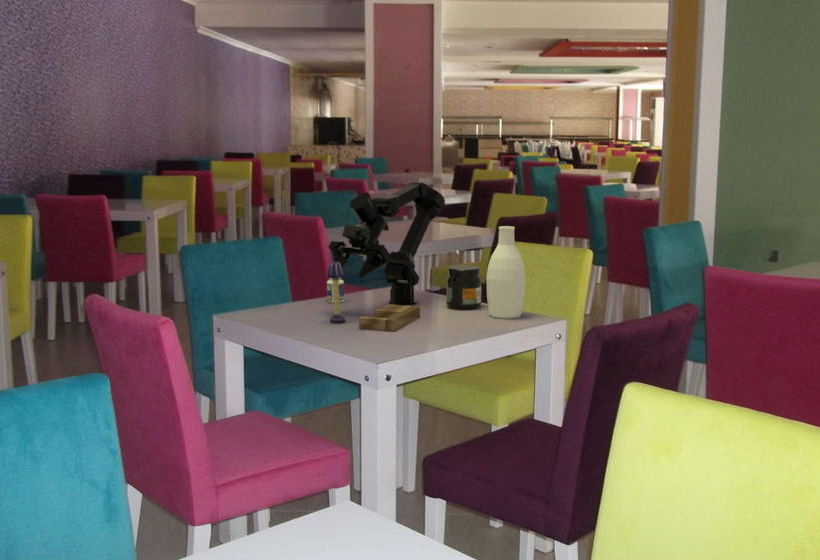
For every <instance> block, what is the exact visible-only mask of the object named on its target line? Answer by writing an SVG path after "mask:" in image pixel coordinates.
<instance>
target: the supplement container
mask: <svg viewBox="0 0 820 560" xmlns="http://www.w3.org/2000/svg"><path fill="white" fill-rule="evenodd" d="M447 274H448V276H447V277H446V306H447V308H449V309H451V308H452V309H451V310H456V309H457V311H458V310H459V311H464V310H465V311H469V310H477V309H478V308H480V307H481V306H482V281H483V280H482V277H481V276H480V275H481V268H480V267H479V266H476V265H467V264H466V265H464V264H463V265H451V266H448V268H447Z"/></svg>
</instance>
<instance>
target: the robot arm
mask: <svg viewBox="0 0 820 560" xmlns="http://www.w3.org/2000/svg"><path fill="white" fill-rule="evenodd" d="M411 202H413V203H414V207H415V213H416V214H415V216H414V218H413V219H412V222H411V224H410V227H409V228H408V231H407V233H406V235H405V237H404V239H403V241H402V244H401V245H400V248H399V250H398V251H391V252H389V251H388V248H386V246H385V245H384V244H380V241H379V238H380V236H381V234H382V232H383V231H384V232H385V231H389V225H388V221H386V220H385V218H391V219H392V218H394V217H396V216H397V214H399V213H400V211H401V208H402V207H403V206H405V205H407V204H409V203H411ZM445 204H446V203H445V197H444V196H443V194H441V192H439V190H438V191H437V190H436V189H434V188H432V187H430V186H429V185H428V184H427V183H424V182H421V181H420V182H418V181H417V182H415V181H412V182H410V183H408V185H407V186H405V187H402V188H401V189H399V190H397V191H395V192H393V193H392V194H389V195H381V196H377V197H373V198H372V197H371V195H370V193H369V192H366V191H364V192H361V194H359V195H357V196H355V197H353V199H351V200H350V202H349V207H350V208H351V211H352V212H353V213H354V215H355V216H356V218H357V219H358V221H359V222H362V223H363V224H361V225H359V226H358V225H349V224H344V227H343V231H342V234H341V236H342V237H344V238H346V239H348V241H347V242H348V244H349V245H351V246H347V245H346V243H345V242H344V241H343V240H342V241H341V240H331V241H330V243H329V245H328V246H327V248H328V249H329V250H330V253H332V254H333V258H334V259H333V262H340V264H341V267H342V268H344V266H345V265H346V264H347V263H348V260H349V258H350V256H351V255H355V256H361V257H366V258H365V260H364V263H363V264H362V267H361V269H360V271H359V273H358V277H359V279H362V278H363V277H365V276H367V274H369V273H370V272H373V271H374V270H376V269H377V268H379V267H382V266H384V269H383V270H384V274H385V279H386V280H385V281H386V283H387V284H391V288H390V289H389V290H390V292H389V294H390V297H389V298H390V300H389V301H388V304H390V305H404V306H411V305H416V304H418V302H417V301H415V286H417V285H418V284H419V281H420V276H419V274H418V273H417V272H416V270H415V269H416V264H415V259H414V258H415V255H416V254H417V252H418V249H419V247H420V245H421V244H422V243H421V242H422V240H423V238H424V236H425V235H426V234H425V233H426V232H427V229H428V227H429V225H430V223H431V221H433V220H434V219H435V218H437V217H438V216H439V215H440V213H441V212H442V210H444V209H443V208H444V206H445Z"/></svg>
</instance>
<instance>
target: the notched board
mask: <svg viewBox="0 0 820 560" xmlns="http://www.w3.org/2000/svg"><path fill="white" fill-rule="evenodd" d="M420 317H421V306H419V305H418V306H417V305H395V304H390V303H387V304H385V305H382V306H380V307H379V308H376V309H375V310H374V317H373V316H360V317H358V329H359V330H368V331H382V332H396V331H397V330H399V329H401V328H403V327H404V326H406V325H409V324H410V323H412V322H413V321H415V320H417V319H418V318H420Z"/></svg>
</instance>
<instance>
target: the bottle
mask: <svg viewBox="0 0 820 560" xmlns="http://www.w3.org/2000/svg"><path fill="white" fill-rule="evenodd" d="M498 230H499V231H498V244H497V246H496V248H495V250H494V251H493V253H492V254H491V256H490V260H489V262H488V266H487V271H486V277H485V278H486V298H487V306H488V313H489V315H490V317H492V318H495V319H516V318H520V317H521V315H522V314H523V307H524V302H525V301H524V300H525V294H526V293H525V292H526V280H527V279H526V268H525V265H524V262H523V258H522V255H521V253H520V252H519V250H518V248H517V246H516V244H515V230H516V228H515V226H513V225H512V226H509V225H504V226H503V225H501V226H498Z"/></svg>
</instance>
